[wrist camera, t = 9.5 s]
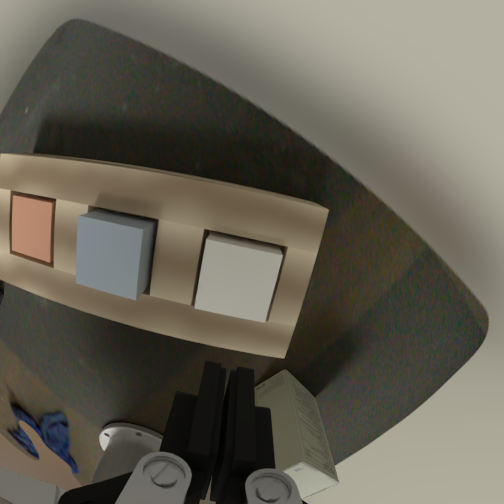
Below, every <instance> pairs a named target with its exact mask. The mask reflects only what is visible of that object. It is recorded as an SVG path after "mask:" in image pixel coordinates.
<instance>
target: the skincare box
mask: <svg viewBox="0 0 504 504" xmlns="http://www.w3.org/2000/svg"><path fill="white" fill-rule="evenodd" d="M254 390H255V406H259V407H267V408H270V410H271V419H272V431H273V443H274V455H275V467H276V469H277V470H280V471H283V472H284V473H286V474H288V475H289V476H290V477H291V478H292V479H293V480H294V481H295V483H296V485H297V487H298V491H299V494H300V497H301V499H303V498H305V497H308V496H311V495H313V494H316V493H318V492H321V491H323V490H325V489H328V488H330V487H332V486H334V485H337V484H338V483H339V480H338V477H337V473H336V470H335V466H334V463H333V459H332V456H331V452H330V449H329V445H328V441H327V438H326V434H325V431H324V428H323V424H322V421H321V417H320V414H319V410H318V407H317V404H316V400H315V397H314V396H313V395H312V394H311V393H310V392H309V391H308V390H307V389H306V388H305V387H304V386H303V385H302V384H301V383H300V382H299V381H298V380H297V379H296V378H295V377H294V376H293V375H291V374H290V373H289V372H288V371H287V370H286V369H284V370H282V371H281V372H279V373H277V374H276V375H274V376H272V377H271V378H269V379H267V380H266V381H264V382H262V383H261V384H259V385H258V386H256V387H254Z"/></svg>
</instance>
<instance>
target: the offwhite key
mask: <svg viewBox="0 0 504 504" xmlns="http://www.w3.org/2000/svg"><path fill="white" fill-rule="evenodd" d="M282 257H283V255H282V252H281V249H280V247H279V245H278V244H273V243H269V242H264V241H260V240H255V239H250V238H246V237H241V236H236V235H232V234H227V233H222V232H218V231H213V230H212V231H211V233H210V234H209V236H208V238H207V239H206V244H205V249H204V255H203V260H202V266H201V272H200V277H199V283H198V289H197V295H196V301H195V307H194V308H195V309H199V310H204V311H208V312H213V313H218V314H223V315H227V316H232V317H237V318H242V319H247V320H253V321H258V322H263V323H265V320H266V317H267V313H268V309H269V306H270V302H271V298H272V295H273V291H274V287H275V284H276V280H277V276H278V272H279V268H280V265H281V261H282Z"/></svg>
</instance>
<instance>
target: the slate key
mask: <svg viewBox="0 0 504 504" xmlns="http://www.w3.org/2000/svg"><path fill="white" fill-rule="evenodd" d="M156 226H157V221H153V220H148V219H143V218H138V217H134V216H129V215H124V214H119V213H114V212H109V211H104V210H99V209H98V210H94V211H91V212H88V213H85V214H82V215H79V216H78V228H77V246H76V283H77V284H80V285H83V286H87V287H90V288H93V289H97V290H100V291H104V292H107V293H111V294H114V295H118V296H121V297H125V298H129V299H132V300H137V299H138V298H139V296H140V295H141V294H142V293H143V292H144V290H145V289H146V288H147V287H148V285H149V282H150V273H151V264H152V255H153V248H154V240H155V233H156Z"/></svg>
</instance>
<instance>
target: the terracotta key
mask: <svg viewBox="0 0 504 504" xmlns="http://www.w3.org/2000/svg"><path fill="white" fill-rule="evenodd" d="M55 210H56V199H55V198H49V197H44V196H39V195H34V194H28V193H22V194H17V195H13V206H12V250H13V251H16V252H19V253H22V254H25V255H28V256H31V257H34V258H37V259H40V260H43V261H46V262H49V263H51V262H53V261H54V227H55Z"/></svg>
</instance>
